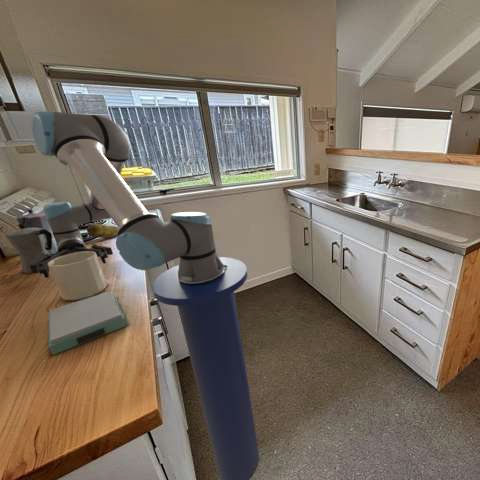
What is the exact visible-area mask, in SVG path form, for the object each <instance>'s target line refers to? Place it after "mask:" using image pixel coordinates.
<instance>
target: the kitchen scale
mask: <svg viewBox="0 0 480 480" xmlns="http://www.w3.org/2000/svg"><path fill="white" fill-rule="evenodd" d="M47 314H48V315H47V317H48V320H47V321H48V323H47V324H48V327H47V328H48V329H47V331H48V349H49V351H50V353H51V355H52V356H54V355H57V354H60V353H61V352H64V351H68V350H69V349H72V348H75V347H77V346H79V345H82V344H84V343H87V342H90V341H92V340H94V339H95V340H96V339H97V338H100V337H102V336H104V335H107V334H109V333H112V332H114V331H117V330H119V329H122V328H125V327H127V326H128V323H127V320H126V317H125V316H124V313H123V311H122V309H121V306H120V304H119V302H118V300H117V298H116V296H115V293H114V291H113V292H112V291H111V290H109V291H106V292H103V293H98V294H95V295H93V296H90V297H88V298H84V299H80V300H76V301H74V302H70V303H67V304H64V305H61V306H58V307H54V308H51V309H49V312H48V313H47Z"/></svg>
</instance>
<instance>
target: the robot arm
mask: <svg viewBox="0 0 480 480" xmlns="http://www.w3.org/2000/svg"><path fill="white" fill-rule="evenodd" d="M30 125H31V132H32V137H33V140H34V143H35V146H36V148H37V150H38V151H39V152H40V154H42V155H43V156H47V157H56V159H57V160H58V162H60V164H62V165H63V166H66V167H69V168H71V169H73V171H74V172H75V174H77V176H78V177H79V179H80V180H81V182H83V184H85V186H86V188H87V189H88V190H89V191H90V195H89V196H90V197H89V201H88V202H87V203H82V204H75V205H74V204H73V205H72V204H71V203H70V202H69V201H59V202H51V203H50V202H49V203H47V204H45V205H44V206H43V208H42V209H43V212H44V214H45V215H46V219H47V221H48V223H49V225H50V229H51V233H52V237H53V239H54V241H55V242H56V244H57V250H58V253H56V254H53V255H49V254H46V255H44V257H43V258H41V259H39V260H38V261H36V262H34V263H32V264H31V265H29V267H30V270H31V272H32V273H31V274H36V273H38V274H39V275H43V277H44V279H50V269H49V267H48V262H50V261H51V260H53V259H55V258H57V257H60V256H63V255H67V254H71V253H76V252H83V251H92V252H96V255H97V258H100V260H101V262H102V264H107V262H106V259H108V258H109V256H112V255H113V253H114V252H113V249H112V247H109V246H103V245H98V244H92V245H91V247H87V246H86V245H85V241H84V238H83V236H82V233H81V231H80V227H79V225H83V224H87V223H93V222H97V221H102V220H108V219H111V220H112V221H113V222H114V224H115V225H116V227H118V231H117V235H116V236H117V238H116V240H115V246H116V250H117V251H119V252H118V254H119V255H120V258H122V259H123V261H124V262H126V263H127V265H129V266H130V267H132V268H133V269H135V270H140V271H148V270H152V269H154V268H160V267H161V266H163V265H165V264H167V263H169V262H171V261H174V260H176V259H179V263H178V265H179V269H178V279H179V282H180V283H182V284H184V285H202V284H206V283H210V282H212V281H215V280H217V279H218V278H220V277H221V276H222V275H223V274H224V272H225V271H224V267H227V265H223V264H222V262H221V260H220V258H219V257H220V256H219V255H218V252H217V251H216V243H215V237H214V232H213V231H214V230H213V224H212V221H211V217H210V215H209V214H207V213H206V212H199V211H183V212H182V211H181V212H180V211H179V212H174V213H172V214H170V216H169V217H170V218H169V219H170V220H168V221H165V222H164V221H163V220H162V219H161V217H160V216H159V215H158V214H156V213H151V212H149V211H148V210H147V209H146V207H145V206H144V205H143V204H142V202H141V201H140V199H139V198H138V197H137V196H136V194H135V193H134V192H133V191H132V189H131V188H130V186H128V184H127V183H126V182H125V180H124V179H123V178H122V176H121V175H122V171H123V167H124V164H125V163H126V162H128V160H129V159H130V154H131V144H130V140H129V137H128V135H127V134H126V132H125V131H124V130H123V129H122V127H121V126H120V125H119V124H117V123H116V122H115V121H113V120H112V119H110V118H108V117H105V116H102V115H99V114H98V115H97V114H85V113H84V114H83V113H72V112H59V111H53V110H50V111H36V112H34V113H33V114H32V116H31V124H30Z"/></svg>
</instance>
